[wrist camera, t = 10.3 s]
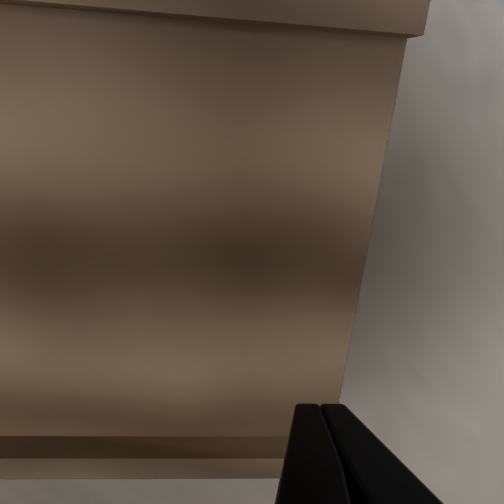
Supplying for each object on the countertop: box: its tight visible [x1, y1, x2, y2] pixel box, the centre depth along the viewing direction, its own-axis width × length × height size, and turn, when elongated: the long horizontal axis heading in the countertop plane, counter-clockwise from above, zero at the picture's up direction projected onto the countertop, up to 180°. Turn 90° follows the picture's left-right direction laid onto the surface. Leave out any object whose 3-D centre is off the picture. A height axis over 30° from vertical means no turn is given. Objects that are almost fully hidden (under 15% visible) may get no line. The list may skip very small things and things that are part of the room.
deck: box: [0, 0, 430, 479], centre depth 14 cm, size 16×14×4 cm
